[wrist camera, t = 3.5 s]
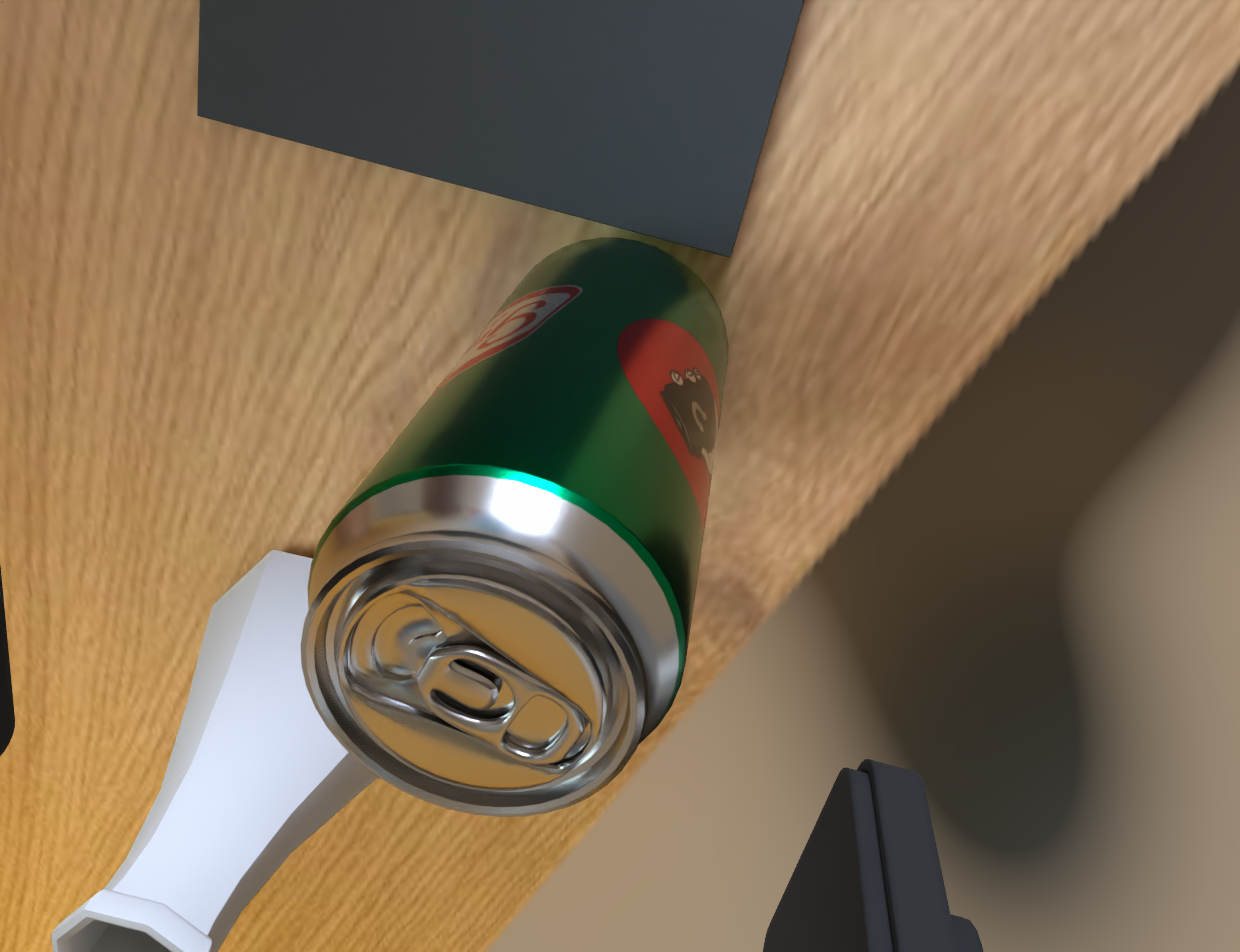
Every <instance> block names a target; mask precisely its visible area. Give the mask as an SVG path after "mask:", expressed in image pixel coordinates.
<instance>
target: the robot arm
mask: <svg viewBox="0 0 1240 952" xmlns="http://www.w3.org/2000/svg"><path fill="white" fill-rule="evenodd" d="M14 728H15V716H14V705H13V694H12V684H11V673H10V662H9V652H8V641H7V631H6V620H5V609H4V599H3V588H2V577H1V567H0V756H1V755H2V753H3V752H4V751H5V749H6V748H7V746H8V744H9V742H10V740H11V738H12V735H13V732H14ZM763 952H983V948H982V944H981V941H980V938H979V935H978V932H977V930H976V928H975V927H974V925H973V924H972V923H971V921H970V920H968V919H965V918H962V917H959V916H954V915H951V914H950V911H949V906H948V901H947V897H946V891H945V886H944V881H943V876H942V871H941V867H940V861H939V857H938V852H937V847H936V842H935V837H934V832H933V827H932V822H931V817H930V812H929V808H928V803H927V797H926V793H925V788H924V783H923V780H922V777H921V776H920V775H919V774H918V772H914V771H911V770H907V769H903V768H899V767H896V766H892V765H888V764H884V763H881V762H877V761H873V760H869V759H865V760H864V761H863V762H862V763H861V764H860V766H859V767H858V769H857V770H853V769H849V768H843V769H842V770H841V771H840V773H839V775H838V777H837V779H836V781H835V783H834V785H833V788H832V790H831V792H830V794H829V796H828V798H827V801H826V803H825V805H824V807H823V809H822V811H821V814H820V816H819V818H818V820H817V822H816V825H815V827H814V829H813V831H812V833H811V835H810V838H809V840H808V842H807V844H806V847H805V849H804V851H803V853H802V855H801V857H800V859H799V862H798V864H797V866H796V868H795V870H794V872H793V875H792V877H791V879H790V881H789V883H788V885H787V888H786V890H785V892H784V894H783V896H782V899H781V901H780V903H779V905H778V907H777V909H776V912H775V914H774V916H773V918H772V920H771V923H770V925H769V927H768V930H767V934H766V938H765V943H764V949H763Z"/></svg>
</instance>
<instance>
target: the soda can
mask: <svg viewBox="0 0 1240 952" xmlns="http://www.w3.org/2000/svg"><path fill="white" fill-rule="evenodd" d="M727 365H728V340H727V333H726V327H725V324H724V321H723V318H722V314H721V311H720V309H719V307H718V305H717V303H716V301H715V299H714V298H713V296H712V294H711V293H710V291H709V290H708V289H707V287H706V286H705V284H704V283H703V282H702V280H701V279H700V278H699V277H698V276H697V275H696V274H695V273H694V272H693V271H692V270H691V269H690V268H689V267H688V266H686V265H685V264H683V263H682V262H681V261H679V260H678V259H677V258H675V257H674V256H672V255H670V254H668V253H666V252H665V251H663V250H661V249H659V248H657V247H654V246H651V245H648V244H645V243H642V242H639V241H634V240H628V239H622V238H597V239H591V240H584V241H580V242H577V243H574V244H571V245H568V246H565V247H563V248H561V249H559V250H558V251H556V252H554V253H552V254H550V255H549V256H547V257H546V258H545V259H543V260H542V261H541V262H539V263H538V264H537V265H536V266H535V267H534V268H533V269H532V270H531V271H530V272H529V273H528V274H527V275H526V276H525V277H524V279H523V280H522V281H521V282H520V284H519V285H518V286H517V287H516V289H515V290H514V291H513V292H512V294H511V295H510V296H509V297H508V299H507V300H506V301H505V303H504V304H503V305H502V306H501V308H500V309H499V310H498V311H497V313H496V314H495V315H494V316H493V318H492V319H491V320H490V321H489V323H488V324H487V325H486V327H485V328H484V329H483V330H482V332H481V333H480V334H479V335H478V337H477V338H476V339H475V340H474V342H473V343H472V344H471V345H470V347H469V348H468V349H467V351H466V352H465V353H464V354H463V356H462V357H461V358H460V359H459V361H458V362H457V363H456V364H455V366H454V367H453V368H452V369H451V371H450V372H449V373H448V375H447V376H446V377H445V378H444V380H443V381H442V382H441V383H440V385H439V386H438V387H437V388H436V390H435V391H434V392H433V393H432V395H431V396H430V397H429V399H428V400H427V401H426V402H425V404H424V405H423V406H422V407H421V409H420V410H419V411H418V412H417V414H416V415H415V416H414V417H413V419H412V420H411V421H410V423H409V424H408V425H407V426H406V428H405V429H404V430H403V431H402V433H401V434H400V435H399V436H398V438H397V439H396V440H395V441H394V443H393V444H392V445H391V447H390V448H389V449H388V450H387V452H386V453H385V454H384V455H383V457H382V458H381V459H380V460H379V462H378V463H377V464H376V465H375V467H374V468H373V469H372V471H371V472H370V473H369V474H368V476H367V477H366V478H365V479H364V481H363V482H362V483H361V484H360V486H359V487H358V488H357V489H356V491H355V492H354V493H353V495H352V496H351V497H350V498H349V500H348V501H347V502H346V503H345V505H344V506H343V507H342V508H341V510H340V511H339V512H338V513H337V515H336V516H335V517H334V519H333V520H332V522H331V523H330V525H329V526H328V528H327V529H326V531H325V533H324V534H323V536H322V537H321V539H320V541H319V543H318V546H317V549H316V552H315V554H314V557H313V560H312V562H311V568H310V574H309V581H308V612H307V615H306V617H305V621H304V626H303V632H302V639H301V665H302V670H303V674H304V679H305V683H306V687H307V690H308V692H309V694H310V697H311V699H312V701H313V704H314V706H315V708H316V710H317V712H318V713H319V715H320V717H321V718H322V720H323V721H324V723H325V725H326V726H327V728H328V729H329V730H330V732H331V733H332V734H333V735H334V736H335V738H336V739H337V740H338V741H339V742H340V744H341V745H342V746H343V747H344V748H345V749H346V750H347V751H348V752H349V753H350V754H351V755H352V756H353V757H354V758H356V759H357V760H358V761H359V762H360V763H361V764H362V765H364V766H365V767H366V768H368V769H369V770H370V771H372V772H373V773H374V774H376V775H377V776H378V777H380V778H381V779H383V780H385V781H386V782H388V783H390V784H391V785H393V786H395V787H397V788H398V789H400V790H402V791H404V792H406V793H408V794H410V795H413V796H415V797H417V798H419V799H422V800H424V801H426V802H429V803H432V804H435V805H438V806H441V807H445V808H448V809H451V810H456V811H461V812H465V813H470V814H476V815H486V816H496V817H516V816H529V815H536V814H543V813H548V812H552V811H555V810H559V809H562V808H566V807H569V806H571V805H574V804H576V803H578V802H580V801H582V800H585V799H587V798H589V797H590V796H592V795H593V794H595V793H596V792H598V791H599V790H601V789H602V788H604V787H605V786H607V785H608V784H609V783H610V782H611V781H612V780H613V779H614V778H615V777H616V776H617V775H618V774H619V773H620V772H621V771H622V770H623V768H624V767H625V765H626V764H627V762H628V761H629V759H630V758H631V756H632V755H633V753H634V752H635V750H636V749H637V746H638V744H640V743H641V742H642V741H643V740H644V739H645V738H646V737H647V736H648V735H649V734H650V733H651V732H652V731H653V730H654V729H655V728H656V727H657V726H658V725H659V724H660V722H661V721H662V719H663V718H664V716H665V715H666V713H667V712H668V711H669V709H670V708H671V706H672V704H673V701H674V699H675V697H676V694H677V692H678V690H679V687H680V685H681V681H682V676H683V671H684V667H685V662H686V655H687V648H688V641H689V634H690V627H691V620H692V613H693V606H694V599H695V592H696V585H697V577H698V570H699V563H700V556H701V549H702V542H703V535H704V528H705V521H706V514H707V507H708V500H709V493H710V486H711V478H712V471H713V464H714V457H715V450H716V443H717V436H718V429H719V422H720V415H721V408H722V401H723V394H724V387H725V379H726V372H727Z"/></svg>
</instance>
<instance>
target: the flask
mask: <svg viewBox="0 0 1240 952" xmlns="http://www.w3.org/2000/svg"><path fill="white" fill-rule="evenodd" d="M312 560H313V559H312V558H308V557H304V556H299V555H295V554H290V553H286V552H282V551H277V550H273V549H272V550H271V551H270V552H269V553H268V554H267V555H266V556H265V557H264V558H263V559H262V560H261V561H259V562H258V563H257V564H256V565H255V566H254V567H253V568H252V569H251V570H250V571H249V572H248V573H247V574H246V575H244V576H243V577H242V578H241V579H240V580H239V581H238V582H237V583H236V584H235V585H234V586H233V587H232V588H231V589H229V590H228V591H227V592H226V593H225V594H224V595H223V596H222V597H221V598H220V599H219V600H218V601H217V602H216V603H214V604H213V606H212V610H211V613H210V616H209V620H208V623H207V627H206V630H205V634H204V638H203V642H202V646H201V650H200V654H199V658H198V662H197V666H196V670H195V674H194V678H193V682H192V686H191V690H190V694H189V698H188V701H187V704H186V708H185V711H184V714H183V718H182V721H181V724H180V728H179V731H178V734H177V738H176V741H175V744H174V747H173V751H172V754H171V757H170V761H169V764H168V767H167V771H166V774H165V777H164V780H163V784H162V787H161V790H160V792H159V794H158V796H157V798H156V800H155V802H154V804H153V806H152V808H151V810H150V812H149V814H148V816H147V818H146V820H145V822H144V824H143V826H142V828H141V830H140V832H139V834H138V836H137V838H136V840H135V842H134V844H133V846H132V848H131V850H130V852H129V854H128V856H127V858H126V859H125V861H124V862H123V863H122V865H121V866H120V868H119V869H118V870H117V872H116V873H115V874H114V876H113V877H112V879H111V880H110V881H109V883H108V884H107V885H106V887H105V888H104V889H103V890H101V891H99V892H98V893H97V894H95V895H94V896H93V897H92V898H90V899H89V900H88V901H87V902H85V903H84V904H83V905H81V906H80V907H79V908H78V909H76V910H75V911H74V912H73V913H71V914H70V915H69V916H68V917H66V918H65V919H64V920H63V921H62V922H61V923H60V924H58V925H57V927H56V928H55V930H54V931H53V933H52V934H51V939H52V946H53V952H218V950H219V948H220V947H221V945H222V943H223V942H224V940H225V938H226V937H227V935H228V933H229V932H230V930H231V928H232V927H233V925H234V923H235V922H236V920H237V918H238V917H239V915H240V913H241V912H242V911H243V909H244V908H245V907H246V906H247V905H248V904H249V902H250V901H251V900H252V899H253V898H254V896H255V895H256V894H257V893H258V892H259V891H260V889H261V888H262V887H263V886H264V885H265V883H266V882H267V881H268V880H269V879H270V877H271V876H272V875H273V874H274V873H275V872H276V870H277V869H278V868H279V867H280V866H281V864H282V863H283V862H284V861H285V860H286V859H287V857H288V856H289V855H290V854H291V853H292V852H293V851H294V850H295V849H296V848H297V847H299V846H300V845H301V844H302V843H303V842H304V841H305V840H307V839H308V838H309V837H310V836H311V835H312V834H313V833H315V832H316V831H317V830H318V829H319V828H320V827H321V826H323V825H324V824H325V823H326V822H327V821H328V820H329V819H330V818H332V817H333V816H334V815H335V814H336V813H337V812H338V811H340V810H341V809H342V808H343V807H344V806H345V805H346V804H348V803H349V802H350V801H351V800H352V799H353V798H354V797H356V796H357V795H358V794H359V793H360V792H361V791H362V790H364V789H365V788H366V787H367V786H368V785H370V784H371V783H372V782H373V781H375V780H376V779H377V778H378V776H377V775H376V774H374V773H373V772H372V771H370V770H369V769H368V768H366V767H365V766H364V765H362V764H361V763H360V762H359V761H358V760H357V759H356V758H354V757H353V756H352V755H351V754H350V753H349V752H348V751H347V750H346V749H345V748H344V747H343V746H342V745H341V744H340V742H339V741H338V740H337V739H336V738H335V736H334V735H333V734H332V733H331V732H330V730H329V729H328V728H327V726H326V725H325V723H324V721H323V720H322V718H321V717H320V715H319V713H318V712H317V710H316V708H315V706H314V704H313V701H312V699H311V697H310V694H309V692H308V690H307V687H306V683H305V679H304V674H303V670H302V665H301V639H302V632H303V626H304V621H305V617H306V615H307V612H308V581H309V574H310V568H311V562H312Z"/></svg>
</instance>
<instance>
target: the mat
mask: <svg viewBox="0 0 1240 952" xmlns="http://www.w3.org/2000/svg"><path fill="white" fill-rule="evenodd" d="M803 3H804V0H200V23H199V68H198V114H197V115H198V116H201V117H205V118H208V119H212V120H216V121H220V122H223V123H227V124H231V125H235V126H238V127H242V128H246V129H250V130H253V131H257V132H261V133H265V134H269V135H272V136H276V137H280V138H284V139H287V140H291V141H295V142H299V143H302V144H306V145H310V146H314V147H317V148H321V149H325V150H329V151H332V152H336V153H340V154H344V155H347V156H351V157H355V158H359V159H363V160H366V161H370V162H374V163H378V164H381V165H385V166H389V167H393V168H396V169H400V170H404V171H408V172H411V173H415V174H419V175H423V176H426V177H430V178H434V179H438V180H441V181H445V182H449V183H453V184H456V185H460V186H464V187H468V188H472V189H475V190H479V191H483V192H487V193H490V194H494V195H498V196H502V197H505V198H509V199H513V200H517V201H520V202H524V203H528V204H532V205H535V206H539V207H543V208H547V209H550V210H554V211H558V212H562V213H565V214H569V215H573V216H577V217H581V218H584V219H588V220H592V221H596V222H599V223H603V224H607V225H611V226H614V227H618V228H622V229H626V230H629V231H633V232H637V233H641V234H644V235H648V236H652V237H656V238H659V239H663V240H667V241H671V242H674V243H678V244H682V245H686V246H690V247H693V248H697V249H701V250H705V251H708V252H712V253H716V254H720V255H723V256H727V257H731V254H732V251H733V247H734V244H735V240H736V237H737V233H738V230H739V226H740V223H741V219H742V216H743V212H744V209H745V205H746V202H747V198H748V195H749V191H750V188H751V184H752V181H753V177H754V174H755V170H756V167H757V163H758V160H759V156H760V153H761V149H762V146H763V142H764V139H765V136H766V132H767V129H768V125H769V122H770V118H771V115H772V111H773V108H774V104H775V101H776V97H777V94H778V90H779V87H780V83H781V80H782V76H783V73H784V69H785V66H786V62H787V59H788V55H789V52H790V48H791V45H792V41H793V38H794V34H795V31H796V27H797V24H798V20H799V17H800V13H801V10H802V6H803Z"/></svg>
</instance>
